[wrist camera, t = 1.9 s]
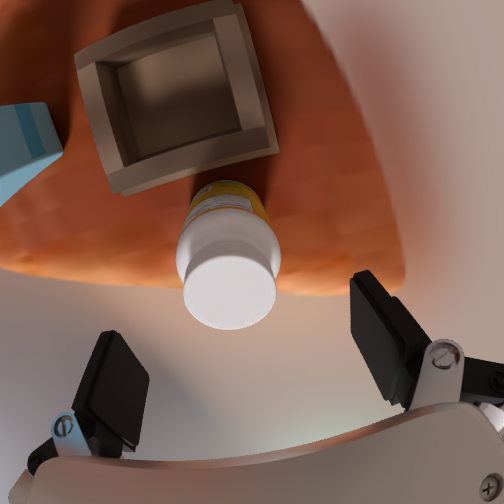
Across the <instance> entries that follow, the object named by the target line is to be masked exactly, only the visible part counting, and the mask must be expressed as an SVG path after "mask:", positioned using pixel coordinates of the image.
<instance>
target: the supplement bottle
mask: <svg viewBox="0 0 504 504" xmlns="http://www.w3.org/2000/svg"><path fill="white" fill-rule="evenodd" d="M280 262H281V253H280V247H279V244H278V240H277V238H276V235H275V233H274V230H273V228H272V226H271V223H270V221H269V219H268V216H267V214H266V212H265V209H264V207H263V205H262V203H261V201H260V199H259V197H258V196H257V194H256V193H255V192H254V191H253V190H252V189H251V188H249V187H248V186H246V185H244V184H242V183H240V182H236V181H231V180H221V181H216V182H213V183H211V184H209V185H207V186H205V187H204V188H202V189H201V190H200V191H199V192H198V193H197V194H196V195H195V197H194V198H193V200H192V202H191V204H190V207H189V210H188V213H187V216H186V219H185V222H184V226H183V229H182V232H181V235H180V238H179V242H178V245H177V252H176V265H177V270H178V273H179V276H180V278H181V280H182V282H183V283H184V286H183V297H184V301H185V304H186V307H187V308H188V310H189V311H190V313H191V314H192V315H193V316H194V317H195V318H196V319H197V320H199V321H200V322H202V323H204V324H205V325H208V326H211V327H213V328H217V329H225V330H234V329H241V328H244V327H248V326H250V325H252V324H254V323H256V322H258V321H259V320H261V319H262V318H263V317H264V316H265V315H266V314H267V313H268V312H269V311H270V309H271V307H272V306H273V304H274V301H275V298H276V290H277V288H276V282H275V278H276V276H277V274H278V271H279V268H280Z"/></svg>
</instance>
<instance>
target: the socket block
mask: <svg viewBox="0 0 504 504" xmlns="http://www.w3.org/2000/svg"><path fill="white" fill-rule="evenodd" d="M74 59H75V65H76V70H77V75H78V79H79V84H80V88H81V93H82V97H83V101H84V105H85V109H86V112H87V116H88V120H89V123H90V127H91V130H92V134H93V137H94V140H95V144H96V147H97V150H98V153H99V156H100V159H101V162H102V165H103V168H104V171H105V174H106V177H107V180H108V182H109V185H110V188H111V191H112V193H113V194H116V193H118V192H122V195H123V197H126V196H129V195H132V194H134V193H137V192H140V191H143V190H146V189H149V188H152V187H155V186H158V185H161V184H164V183H167V182H170V181H173V180H176V179H180V178H183V177H186V176H190V175H193V174H196V173H200V172H203V171H207V170H210V169H214V168H218V167H221V166H225V165H229V164H233V163H237V162H241V161H245V160H249V159H253V158H257V157H261V156H266V155H270V154H275V153H279V147H278V142H277V138H276V133H275V129H274V125H273V120H272V116H271V112H270V107H269V103H268V99H267V95H266V91H265V87H264V83H263V79H262V75H261V71H260V67H259V63H258V60H257V56H256V52H255V48H254V45H253V41H252V38H251V34H250V31H249V27H248V24H247V20H246V17H245V13H244V10H243V7H242V4H241V3H238V4H233V2H232V0H214V1H209V2H205V3H200V4H196V5H192V6H189V7H185V8H181V9H178V10H175V11H171V12H168V13H165V14H162V15H159V16H156V17H153V18H151V19H148V20H145V21H143V22H140V23H137V24H135V25H132V26H130V27H128V28H125V29H123V30H121V31H118V32H116V33H114V34H112V35H110V36H108V37H106V38H104V39H102V40H99V41H98V42H96V43H94V44H92V45H90V46H88V47H86V48H84V49H82V50H81V51H79V52H77V53H75V54H74Z"/></svg>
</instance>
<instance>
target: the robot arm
mask: <svg viewBox="0 0 504 504" xmlns="http://www.w3.org/2000/svg"><path fill="white" fill-rule="evenodd" d="M350 308H351V309H350V311H351V334H352V337H353V339H354V341H355V342H356V344H357V346H358V348H359V350H360V352H361V354H362V356H363V358H364V360H365V362H366V364H367V366H368V368H369V370H370V372H371V374H372V376H373V378H374V380H375V382H376V384H377V386H378V388H379V390H380V392H381V394H382V396H383V398H384V400H385V401H387V400H389V401H390V403H391V405H392V406H393V405H395V404H398V403H400V404H401V406H402V407H403V408H405V410H404V412H403V413H401V414H398V415H395V416H393V417H390V418H387V419H384V420H381V421H379V422H376V423H373V424H371V425H368V426H365V427H362V428H360V429H357V430H353V431H350V432H347V433H344V434H340V435H337V436H334V437H331V438H327V439H324V440H320V441H316V442H312V443H308V444H304V445H300V446H296V447H292V448H287V449H282V450H277V451H271V452H266V453H260V454H253V455H246V456H239V457H230V458H220V459H208V460H189V461H147V460H130V459H124V457H123V456H122V450H123V451H124V452H135V449H136V446H137V445H138V444H139V439H140V432H141V426H142V419H143V413H144V408H145V402H146V397H147V391H148V386H149V375H148V373H147V371H146V370H145V369H144V367H143V366H142V365H141V363H140V362H139V361H138V359H137V358H136V356H135V355H134V353H133V352H132V351H131V349H130V348H129V346H128V345H127V343H126V342H125V340H124V339H123V337H122V336H121V334H119V333H117V332H116V331H114V330H111V331H105V332H102V333H101V334H100V336H99V339H98V341H97V343H96V345H95V348H94V350H93V352H92V355H91V357H90V360H89V362H88V365H87V367H86V369H85V372H84V375H83V377H82V380H81V382H80V385H79V388H78V390H77V393H76V396H75V399H74V402H73V404H72V407H71V408H72V409H73V410H74V411H75V413H74V415H73V414H72V413H70V412H64V413H61V414H60V415H58V416H57V417H56V418H55V420H54V421H53V423H52V427H51V433H52V437H51V438H50V439H49V440H47V441H46V442H45V443H43V444H42V445H41V446H39V447H38V448H37V449H36V450H34V451H33V452H32V453H31V454H30V456H29V458H28V462H27V466H28V470H29V471H28V470H27V469H25V471H24V472H23V473H22V475H21V476H20V477H19V479H18V480H17V482H16V483H15V484H14V486H13V487H12V489H11V490H10V492H9V496H8V499H9V503H10V504H504V364H501V363H495V362H490V361H484V360H480V359H474V358H470V357H465V356H464V352H463V350H462V348H461V347H460V346H459V345H458V344H457V343H456V342H454V341H452V340H449V339H439V340H435V341H434V342H432V341H431V340H430V338H429V337H428V336H427V334H426V333H425V332H424V330H423V329H422V328H421V327H420V325H419V324H418V323H417V321H416V320H415V319H414V318H413V316H412V315H411V314H410V312H409V311H408V310H407V309H406V308H405V306H404V305H403V304H402V303H401V301H400V300H399V299H398V298H397V297H395V296H393V297H391V296H390V295H389V293H388V292H387V291H386V290H385V289H384V287H383V286H382V285H381V284H380V282H379V281H378V280H377V279H376V278H375V276H374V275H373V274H372V273H371V272H370V271H369V270H364V271H361V272H358V273H355V274H354V276H353V278H351V279H350ZM499 434H500V435H501V436H500V435H499ZM501 437H502V438H501ZM502 439H503V440H502Z"/></svg>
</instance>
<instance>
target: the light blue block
mask: <svg viewBox="0 0 504 504" xmlns="http://www.w3.org/2000/svg"><path fill="white" fill-rule="evenodd" d="M62 154H63V148H62V145H61V143H60V140H59V138H58V135H57V132H56V130H55V127H54V124H53V121H52V119H51V116H50V113H49V110H48V107H47V104H46V103H44V102H36V103H24V104H13V105H5V106H0V207H1V206H2V205H3V204H4V203H5V202H6V201H7V200H8V199H9V198H10V197H11V196H12V195H14V194H15V193H16V192H17V191H18V190H19V189H20V188H21V187H23V186H24V185H25V184H26V183H27V182H29V181H30V180H31V179H32V178H33V177H35V176H36V175H37V174H38V173H40V172H41V171H42V170H43V169H45V168H46V167H47V166H49V165H50V164H51V163H53V162H54V161H55V160H57V159H58V158H59V157H60V156H61V155H62Z"/></svg>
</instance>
